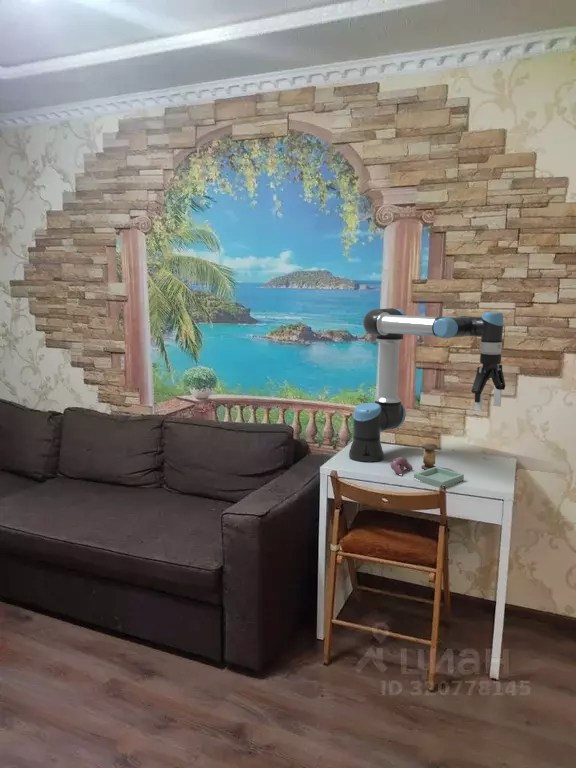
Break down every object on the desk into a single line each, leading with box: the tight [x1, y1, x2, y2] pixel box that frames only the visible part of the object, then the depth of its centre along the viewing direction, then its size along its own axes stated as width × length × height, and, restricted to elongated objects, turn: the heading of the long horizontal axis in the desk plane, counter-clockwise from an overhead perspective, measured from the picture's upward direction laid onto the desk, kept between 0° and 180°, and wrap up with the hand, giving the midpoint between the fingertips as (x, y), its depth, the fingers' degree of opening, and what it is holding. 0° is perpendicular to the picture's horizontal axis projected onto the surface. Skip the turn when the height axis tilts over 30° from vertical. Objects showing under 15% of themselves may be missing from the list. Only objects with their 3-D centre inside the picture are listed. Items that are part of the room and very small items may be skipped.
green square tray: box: [413, 466, 465, 489], centre depth 223 cm, size 13×14×2 cm
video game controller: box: [389, 456, 413, 475], centre depth 233 cm, size 10×5×7 cm, turn 141°
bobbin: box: [421, 443, 438, 471], centre depth 236 cm, size 6×6×10 cm
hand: (487, 408), depth 221 cm, fingers open, 13 cm apart
